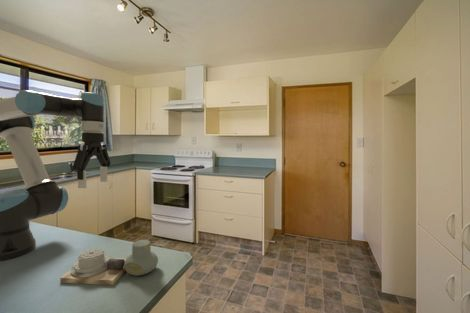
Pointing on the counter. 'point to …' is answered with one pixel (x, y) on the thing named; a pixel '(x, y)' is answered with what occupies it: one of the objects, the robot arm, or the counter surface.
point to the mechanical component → (91, 261)
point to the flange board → (97, 274)
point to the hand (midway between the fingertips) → (93, 184)
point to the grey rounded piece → (141, 259)
